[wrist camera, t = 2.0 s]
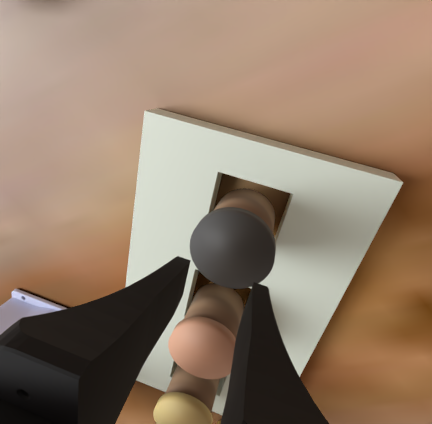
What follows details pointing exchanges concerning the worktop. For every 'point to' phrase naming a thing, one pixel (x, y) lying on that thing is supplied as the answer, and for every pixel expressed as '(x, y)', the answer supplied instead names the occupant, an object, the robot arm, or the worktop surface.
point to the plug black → (236, 240)
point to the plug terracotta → (208, 332)
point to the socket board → (286, 234)
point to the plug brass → (186, 400)
